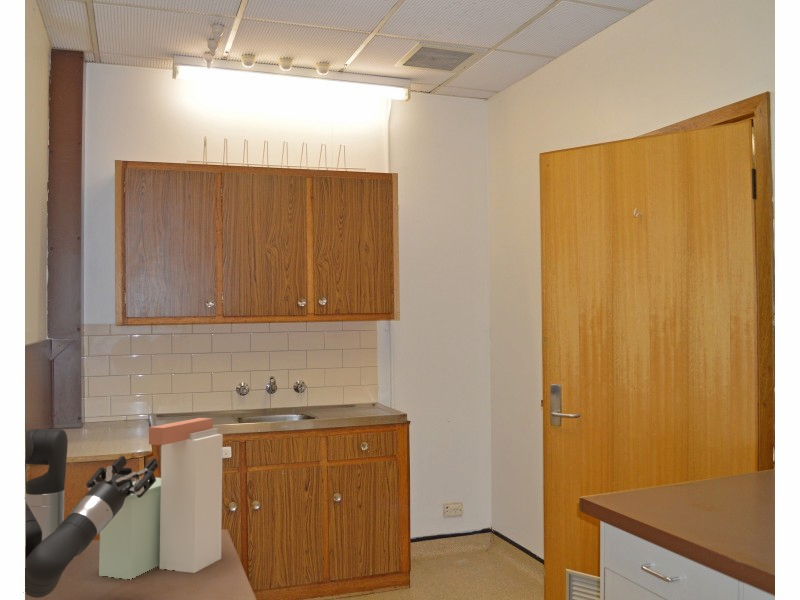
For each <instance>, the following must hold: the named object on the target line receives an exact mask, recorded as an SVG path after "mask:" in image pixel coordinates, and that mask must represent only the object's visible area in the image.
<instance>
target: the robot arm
mask: <svg viewBox="0 0 800 600" xmlns="http://www.w3.org/2000/svg"><path fill="white" fill-rule="evenodd" d="M25 431H26V464H25V465H30V466H46V465H47V466H48V468H47V469H48V470H47V472H45V473H43V474H42V475H39V476H37V477H34V478H31V479H29V480H27V481H26V482H25V485H26V568H25V587H26V588H25V592H26V594H25V595H27V596H29V597H30V598H34V599H37V598H44V597H46V596H48V595H50V594H51V593H52V592H53V591H54V590H55V589H56V587H57V585H58V584H59V582H60V579H61V577H62V575H63V573H64V571H65V570H66V569H67V567H68V566H69V565H70V563H71V562H72V561H73V559H74V558H75V557H77V556H79V555H80V554H81V553H83V552H84V551H85V550H86V548H87V547H89V545H91V543H92V542H93V540H94V539H95V538H96V537H97V536H98V535H100V532H101V531H102V530H103V529H104V528H105V527H106V526H107V524H108V523H109V522H110V521H111V520H112V519H113V517H114V516H115V515H116V514H117V513H118V511H119V510H120V509H121V508H122V506H123V504H124V501H125V498H126V497H127V496H129V495H131V494H136V495H137V497H138V498H140V497H142V496H143V495H144V494H145V493H146V491H147V490H148V489H149V488H150V487H151V486H152V485H153V484H154V483H155V481H156V478H155V477H156V476H155V471H156V470H157V469H158V468H159V463H158V460H157V458H154V457H152V458H151V459H150V460H149V461H148V462H147V463H146V465H145V466H144V467H143V469H141V470H139V471H132V473H131V474H129V475H120V474H118V473H119V472H120V470H121V469H122V468H125V466H126V465H127V464H128V463H127V459H126V456H124V455H121V456H120V457H119V458H117V459H116V460H115V461H114V462H113V463H112V464H111V465H108V466H107V467H106V468H105V467H103V466H101V467H98V469H97V470H96V472H95V473H94V474H93V475H92V476H91V477H90V478H89V480H87V482H86V483H85V485H86V487H87V490H88V492H87V493H86V494H85V495H84V496H83V497H82V498H81V499H80V501H79V502H77V503H76V504H75V506H74V507H73V508H72V510H71V511H70V513H69V514H68V515H67V516H66V517H65V488H66V487H65V486H66V485H65V484H66V471H67V458H68V457H67V456H68V446H69V445H68V443H69V442H68V441H69V440H68V434H67V432H66V430H64V429H63V428H35V429H34V428H33V429H28V430H25ZM142 476H143V477H142ZM140 477H141V478H140ZM133 478H134V482H135V481H136V483H135V484H133V482H132V480H133ZM148 480H149V481H148Z"/></svg>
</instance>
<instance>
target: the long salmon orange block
mask: <svg viewBox="0 0 800 600" xmlns="http://www.w3.org/2000/svg"><path fill="white" fill-rule="evenodd" d="M213 423H214V418H212V417H211V418H210V417H209V418H208V417H196V418H192V419H188V420H187V419H186V420H181V421H175V422H169V423H165V424H160V425H155V426H149V427H148V445H156V446H162V445H166V444H170V443H175V442H179V441H183V440H188V439H189V434H191V433H196V432H201V431H205V430H210V429H214V426H213V425H214V424H213Z"/></svg>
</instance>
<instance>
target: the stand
mask: <svg viewBox="0 0 800 600" xmlns="http://www.w3.org/2000/svg"><path fill="white" fill-rule="evenodd" d="M223 437H224V435H223V433H219V428H218V427H215V428H214V427H213V429H210V430H205V431H201V432H196V433H191V434H189V439H188V440H183V441H179V442H175V443H170V444H166V445H160V446H161V456H160V458H161V459H160V460H161V461H160V478H161V506H160V566H158V567H159V570H164V569H167V570H166V571H172V570H175V571H174V572H181V573H190V574H195V573H197V572H200V571H201V570H202V569H204V568H207V567H209V566H210V565H212V564H214V563H216V562H217V561H220V560H221V559H222V528H223V527H222V524H223V523H222V517H223V516H222V513H223V510H222V509H223V504H222V503H223V447H224V446H223V440H224V439H223Z"/></svg>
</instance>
